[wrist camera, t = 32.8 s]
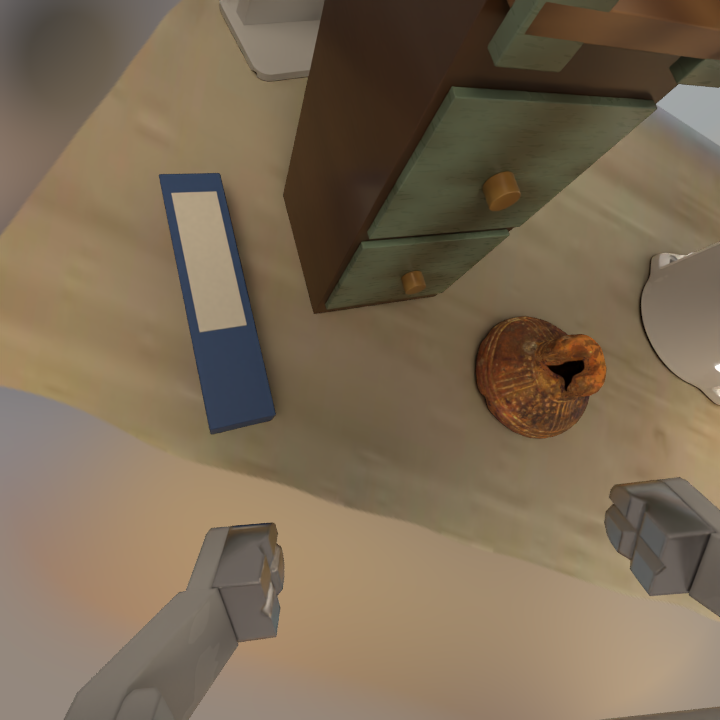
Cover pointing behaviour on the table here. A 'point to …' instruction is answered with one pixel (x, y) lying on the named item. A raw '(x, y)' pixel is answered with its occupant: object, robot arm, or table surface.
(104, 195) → the table surface
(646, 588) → the robot arm
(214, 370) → the case
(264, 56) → the phone holder
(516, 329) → the bell
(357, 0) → the drawer stand
